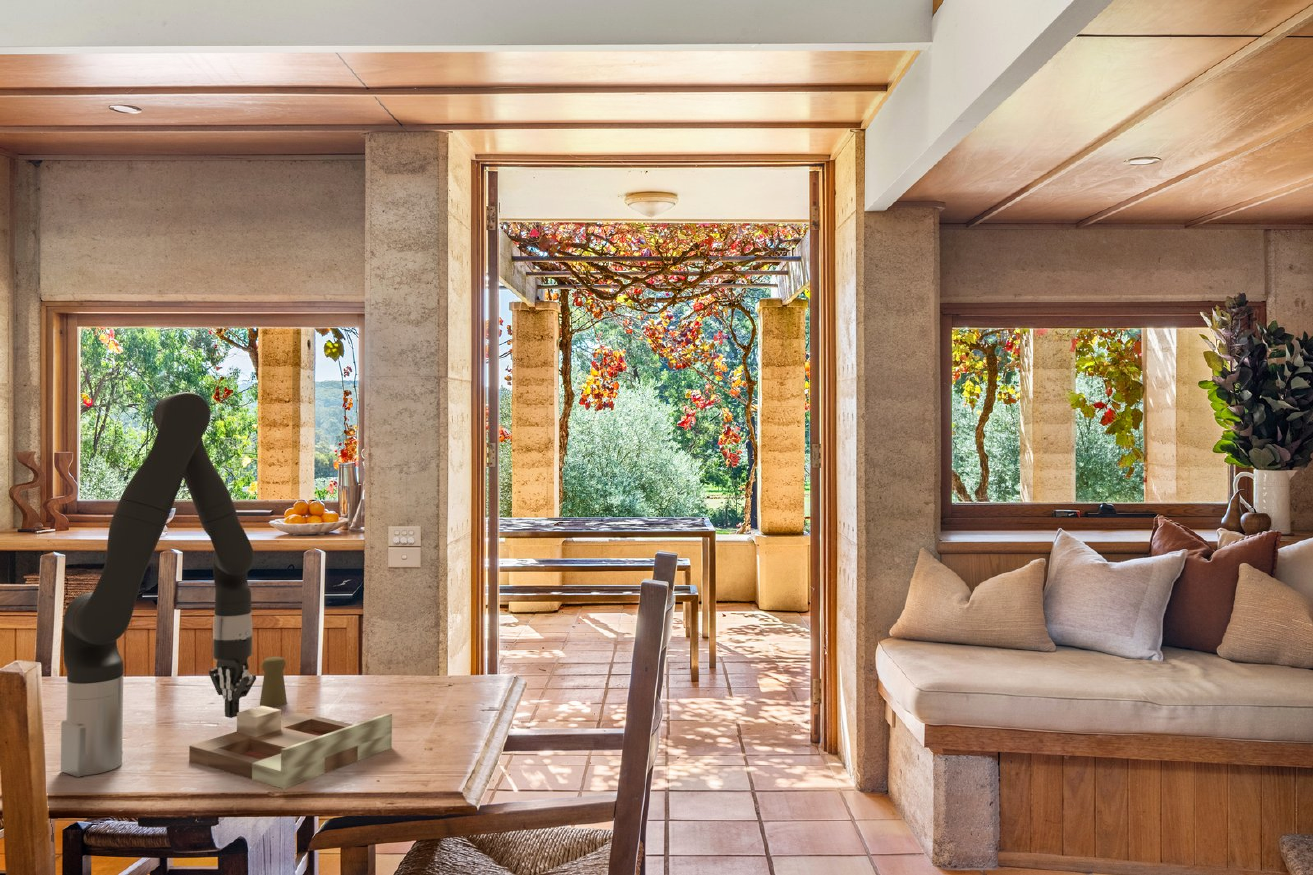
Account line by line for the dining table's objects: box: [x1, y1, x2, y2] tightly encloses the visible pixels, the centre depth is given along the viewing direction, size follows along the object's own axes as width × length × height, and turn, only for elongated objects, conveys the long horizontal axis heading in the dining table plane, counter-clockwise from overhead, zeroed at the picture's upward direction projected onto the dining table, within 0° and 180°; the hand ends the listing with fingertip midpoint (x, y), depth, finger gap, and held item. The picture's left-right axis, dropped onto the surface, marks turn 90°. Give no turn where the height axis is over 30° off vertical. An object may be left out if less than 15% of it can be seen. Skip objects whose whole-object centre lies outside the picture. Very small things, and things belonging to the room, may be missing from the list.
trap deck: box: [188, 712, 393, 790], centre depth 182 cm, size 26×28×7 cm
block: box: [236, 705, 282, 737], centre depth 188 cm, size 6×6×4 cm
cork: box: [259, 656, 288, 708], centre depth 218 cm, size 6×6×11 cm
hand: (231, 716), depth 192 cm, fingers closed
